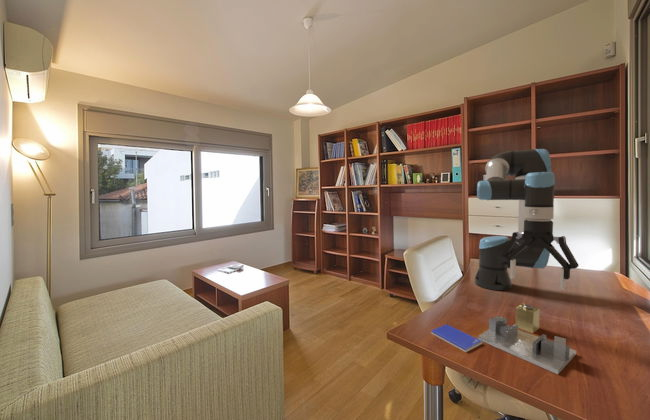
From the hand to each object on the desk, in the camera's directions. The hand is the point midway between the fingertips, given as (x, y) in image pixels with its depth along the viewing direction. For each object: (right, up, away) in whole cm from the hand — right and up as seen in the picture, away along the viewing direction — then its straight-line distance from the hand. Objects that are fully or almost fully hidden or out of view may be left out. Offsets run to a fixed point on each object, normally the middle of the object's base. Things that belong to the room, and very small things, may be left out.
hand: (535, 283), depth 91 cm
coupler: (-2, -16, +1) cm, 16 cm away
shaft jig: (-10, -17, -9) cm, 22 cm away
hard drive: (-28, -18, -3) cm, 34 cm away
